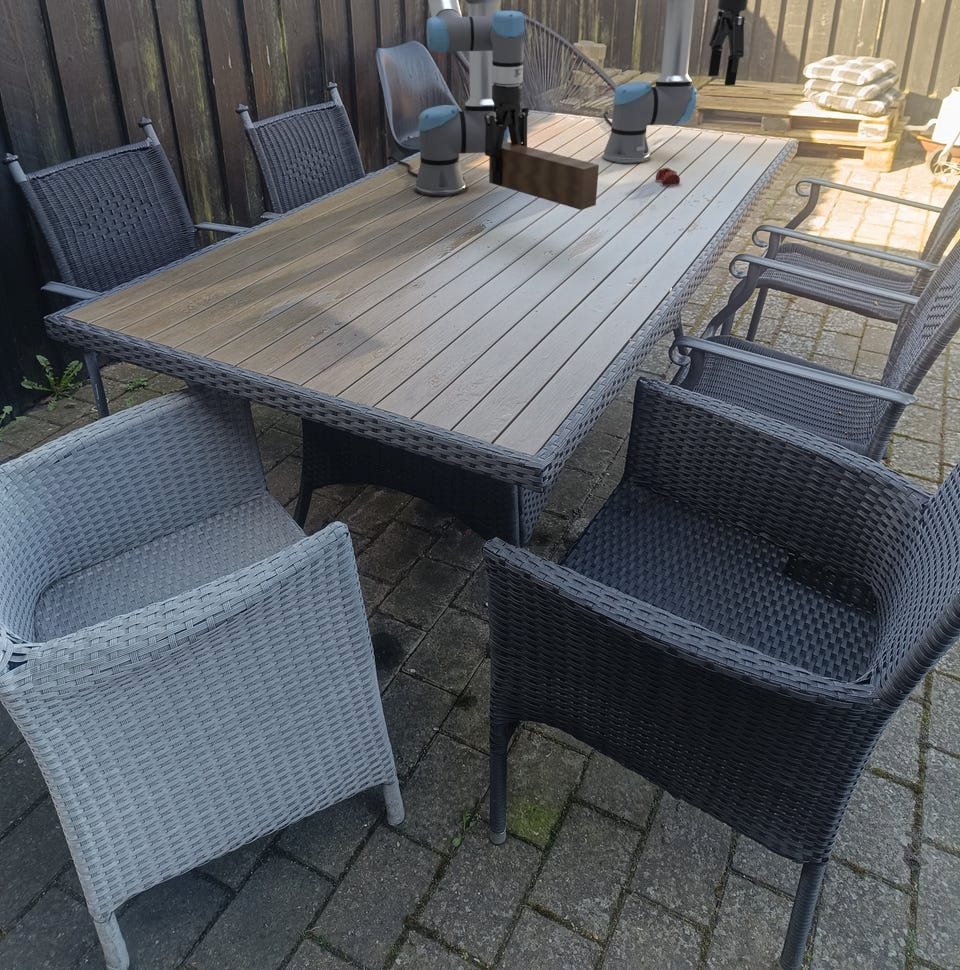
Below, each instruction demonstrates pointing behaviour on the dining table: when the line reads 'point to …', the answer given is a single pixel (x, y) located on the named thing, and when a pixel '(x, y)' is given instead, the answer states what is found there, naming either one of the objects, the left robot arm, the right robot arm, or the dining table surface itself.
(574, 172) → the bar
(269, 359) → the dining table surface
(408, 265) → the dining table surface
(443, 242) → the dining table surface
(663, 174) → the dark red rounded lump
